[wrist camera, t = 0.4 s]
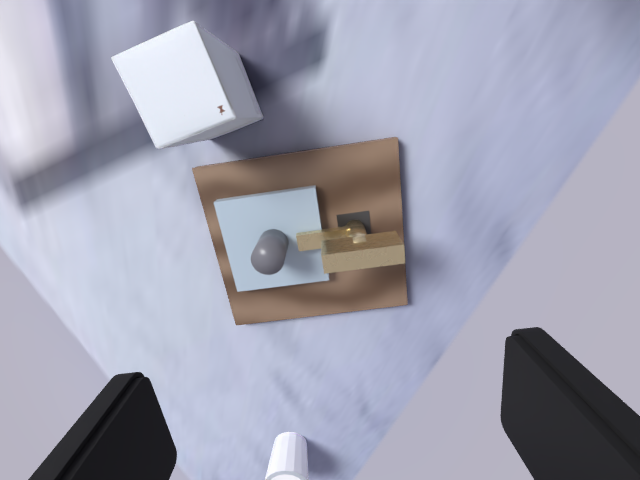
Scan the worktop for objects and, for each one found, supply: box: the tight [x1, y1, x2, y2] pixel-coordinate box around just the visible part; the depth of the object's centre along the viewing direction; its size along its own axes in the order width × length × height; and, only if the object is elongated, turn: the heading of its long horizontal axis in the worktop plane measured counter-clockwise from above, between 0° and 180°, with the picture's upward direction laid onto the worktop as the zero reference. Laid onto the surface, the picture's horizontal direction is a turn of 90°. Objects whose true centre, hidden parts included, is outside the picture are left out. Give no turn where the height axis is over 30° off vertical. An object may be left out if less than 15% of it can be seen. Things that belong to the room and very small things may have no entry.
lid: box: [214, 185, 329, 292], centre depth 38 cm, size 12×12×6 cm
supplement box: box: [111, 21, 263, 149], centre depth 31 cm, size 7×7×13 cm
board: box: [192, 137, 408, 325], centre depth 42 cm, size 22×24×2 cm
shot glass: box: [265, 432, 309, 480], centre depth 53 cm, size 7×7×7 cm
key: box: [296, 220, 405, 274], centre depth 36 cm, size 2×11×9 cm, turn 98°
